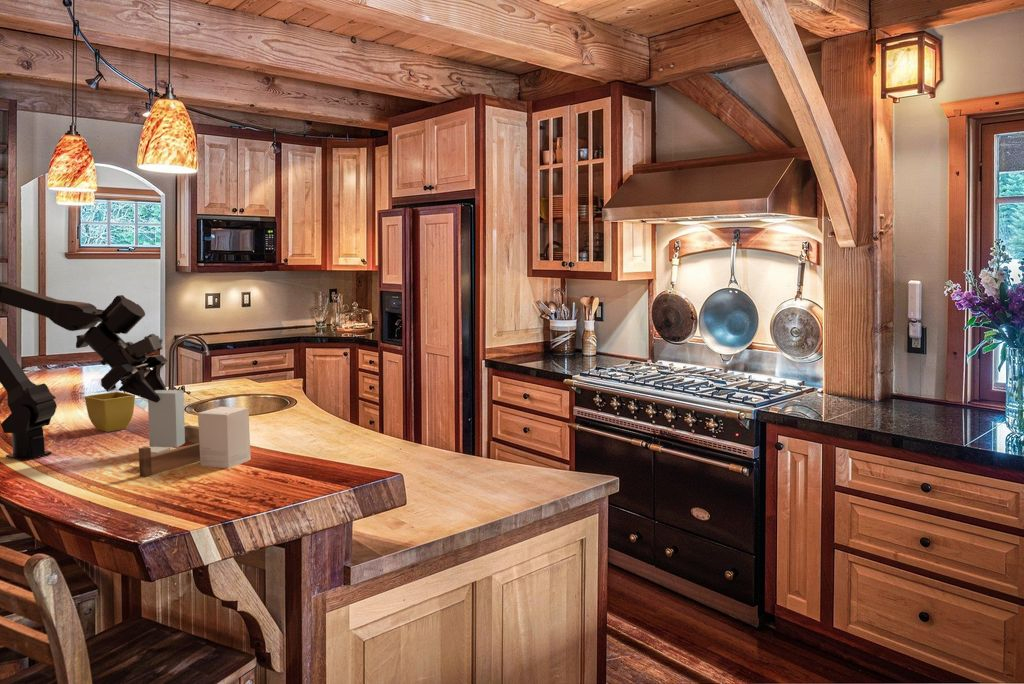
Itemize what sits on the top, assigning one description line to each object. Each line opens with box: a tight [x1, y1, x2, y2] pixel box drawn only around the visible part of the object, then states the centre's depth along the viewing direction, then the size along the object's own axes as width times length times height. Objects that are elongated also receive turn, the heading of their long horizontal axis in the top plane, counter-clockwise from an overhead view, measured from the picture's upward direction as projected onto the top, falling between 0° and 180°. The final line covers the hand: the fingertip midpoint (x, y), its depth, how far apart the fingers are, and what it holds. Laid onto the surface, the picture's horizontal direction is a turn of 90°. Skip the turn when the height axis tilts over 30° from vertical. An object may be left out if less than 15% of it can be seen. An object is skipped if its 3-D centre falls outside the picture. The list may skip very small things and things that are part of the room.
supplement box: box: [197, 406, 252, 469], centre depth 155 cm, size 7×7×13 cm
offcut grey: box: [150, 447, 171, 455], centre depth 152 cm, size 4×4×2 cm
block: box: [147, 389, 186, 448], centre depth 164 cm, size 6×4×12 cm, turn 89°
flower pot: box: [84, 391, 136, 433], centre depth 191 cm, size 9×9×9 cm
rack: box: [138, 424, 200, 478], centre depth 159 cm, size 18×26×7 cm
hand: (163, 399), depth 163 cm, fingers closed on block, 4 cm apart
